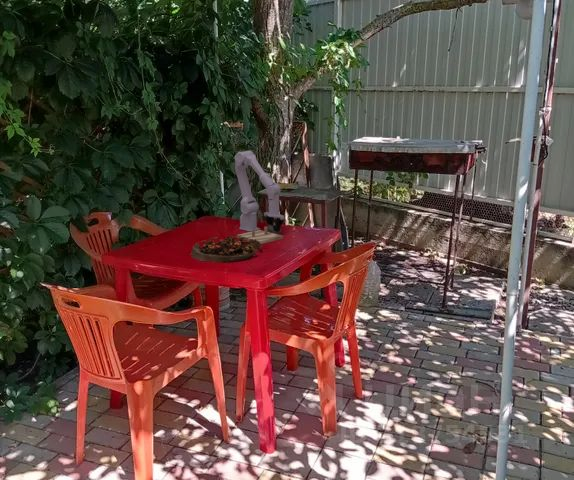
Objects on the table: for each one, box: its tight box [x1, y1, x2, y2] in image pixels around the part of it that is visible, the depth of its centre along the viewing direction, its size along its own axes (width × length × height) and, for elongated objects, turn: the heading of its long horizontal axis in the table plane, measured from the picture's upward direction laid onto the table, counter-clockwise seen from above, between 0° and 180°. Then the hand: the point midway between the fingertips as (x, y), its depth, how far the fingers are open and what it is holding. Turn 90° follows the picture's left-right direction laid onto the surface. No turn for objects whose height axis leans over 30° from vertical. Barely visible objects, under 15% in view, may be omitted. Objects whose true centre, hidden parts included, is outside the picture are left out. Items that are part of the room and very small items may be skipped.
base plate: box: [236, 225, 284, 245], centre depth 312 cm, size 19×16×6 cm
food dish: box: [189, 235, 263, 263], centre depth 286 cm, size 35×33×8 cm
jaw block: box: [267, 222, 282, 235], centre depth 323 cm, size 4×6×5 cm, turn 133°
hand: (274, 230), depth 323 cm, fingers open, 5 cm apart
